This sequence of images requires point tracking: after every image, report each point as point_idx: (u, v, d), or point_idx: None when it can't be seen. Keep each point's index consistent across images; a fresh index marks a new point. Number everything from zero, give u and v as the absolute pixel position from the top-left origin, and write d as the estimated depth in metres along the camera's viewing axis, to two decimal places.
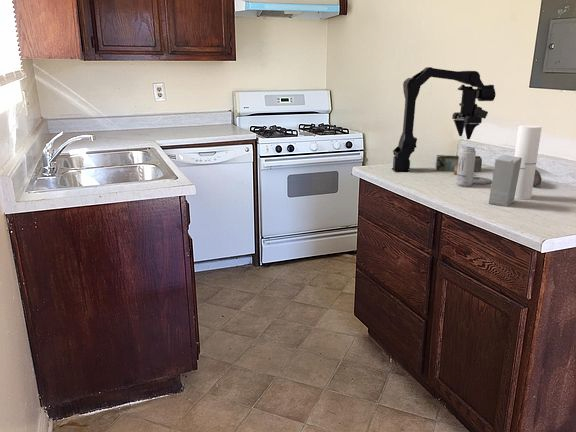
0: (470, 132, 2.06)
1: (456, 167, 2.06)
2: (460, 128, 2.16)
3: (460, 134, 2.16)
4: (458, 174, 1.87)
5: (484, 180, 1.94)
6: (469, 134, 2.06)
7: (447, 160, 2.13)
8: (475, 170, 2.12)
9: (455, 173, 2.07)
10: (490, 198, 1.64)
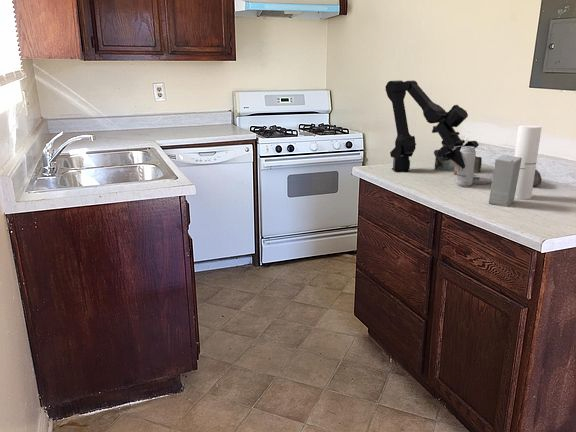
0: None
1: (456, 167, 2.06)
2: None
3: None
4: (458, 174, 1.87)
5: (484, 180, 1.94)
6: None
7: None
8: None
9: (455, 173, 2.07)
10: (490, 198, 1.64)
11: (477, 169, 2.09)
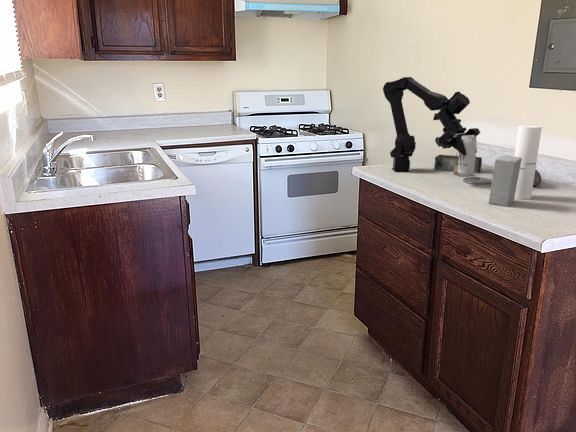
0: None
1: (456, 167, 2.06)
2: None
3: None
4: (459, 163, 1.85)
5: (484, 180, 1.94)
6: None
7: (445, 160, 2.15)
8: None
9: (455, 173, 2.07)
10: (490, 198, 1.64)
11: (476, 169, 2.09)
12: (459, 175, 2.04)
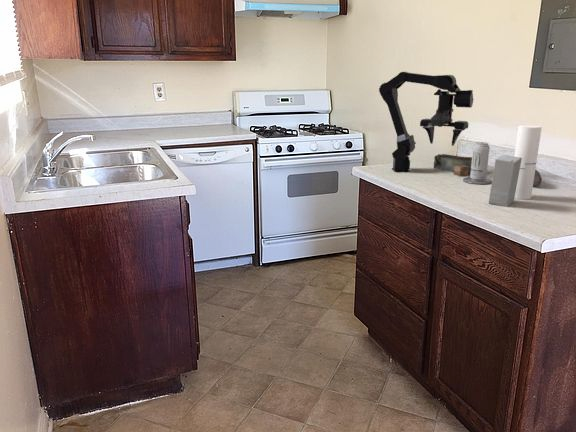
0: None
1: (456, 167, 2.06)
2: None
3: None
4: (474, 169, 1.92)
5: (484, 180, 1.94)
6: None
7: (443, 159, 2.16)
8: None
9: (455, 173, 2.07)
10: (490, 198, 1.64)
11: None
12: (459, 175, 2.04)
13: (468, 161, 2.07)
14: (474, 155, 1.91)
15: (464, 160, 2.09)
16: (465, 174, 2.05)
